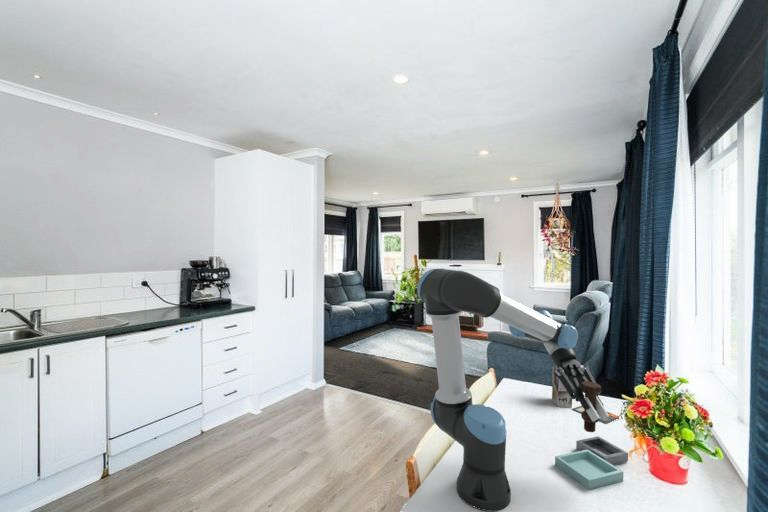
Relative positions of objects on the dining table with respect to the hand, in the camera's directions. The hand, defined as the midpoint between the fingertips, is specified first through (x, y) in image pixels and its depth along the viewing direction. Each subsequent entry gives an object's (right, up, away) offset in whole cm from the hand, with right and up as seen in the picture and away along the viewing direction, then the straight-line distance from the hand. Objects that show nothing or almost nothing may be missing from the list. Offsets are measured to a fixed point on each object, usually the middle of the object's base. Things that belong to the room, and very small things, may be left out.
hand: (600, 418), depth 112 cm
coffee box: (+16, -18, +57) cm, 62 cm away
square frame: (+8, -19, +14) cm, 25 cm away
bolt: (-1, -6, +4) cm, 7 cm away
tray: (-2, -19, +4) cm, 19 cm away
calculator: (+26, -19, +46) cm, 56 cm away
